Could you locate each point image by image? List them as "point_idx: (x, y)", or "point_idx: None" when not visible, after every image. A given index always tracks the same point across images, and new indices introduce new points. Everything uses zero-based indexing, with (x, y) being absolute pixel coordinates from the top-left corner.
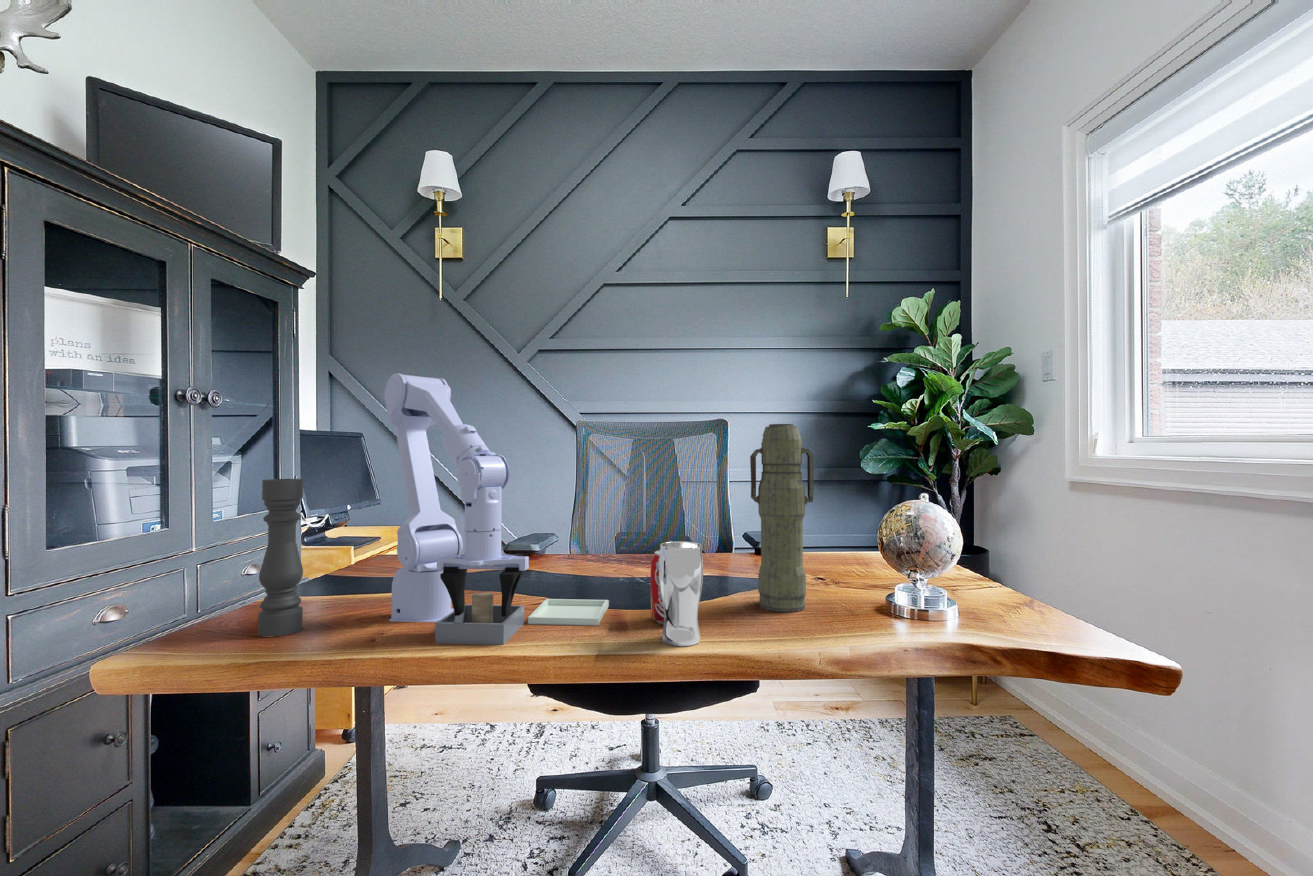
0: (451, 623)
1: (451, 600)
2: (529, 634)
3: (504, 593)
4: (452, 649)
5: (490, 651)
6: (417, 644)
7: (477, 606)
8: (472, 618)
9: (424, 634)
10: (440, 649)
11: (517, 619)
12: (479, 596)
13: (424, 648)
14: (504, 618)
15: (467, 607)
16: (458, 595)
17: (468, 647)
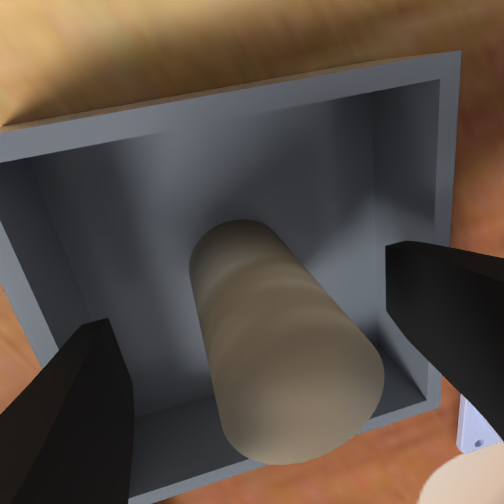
0: (356, 70)
1: (501, 261)
2: (18, 351)
3: (18, 438)
4: (272, 37)
5: (38, 54)
6: (468, 70)
7: (284, 290)
8: (298, 260)
9: (486, 202)
10: (332, 23)
11: None
12: (310, 361)
13: (415, 20)
14: (211, 415)
15: (409, 395)
16: (485, 315)
17: (206, 89)
